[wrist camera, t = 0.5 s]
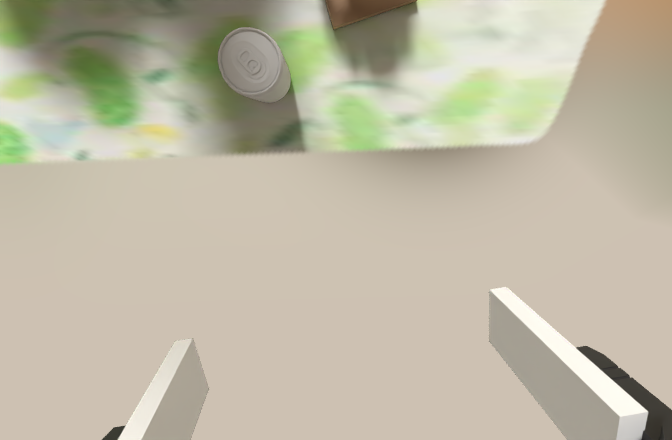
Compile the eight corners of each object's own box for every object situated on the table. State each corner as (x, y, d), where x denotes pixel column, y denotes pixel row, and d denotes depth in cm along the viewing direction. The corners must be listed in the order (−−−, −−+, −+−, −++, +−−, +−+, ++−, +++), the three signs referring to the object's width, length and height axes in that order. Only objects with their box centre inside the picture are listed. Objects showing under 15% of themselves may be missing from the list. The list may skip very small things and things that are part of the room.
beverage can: (268, 112, 37) (251, 111, 26) (235, 77, 36) (201, 59, 24) (300, 80, 36) (296, 64, 25) (267, 43, 35) (247, 8, 24)
